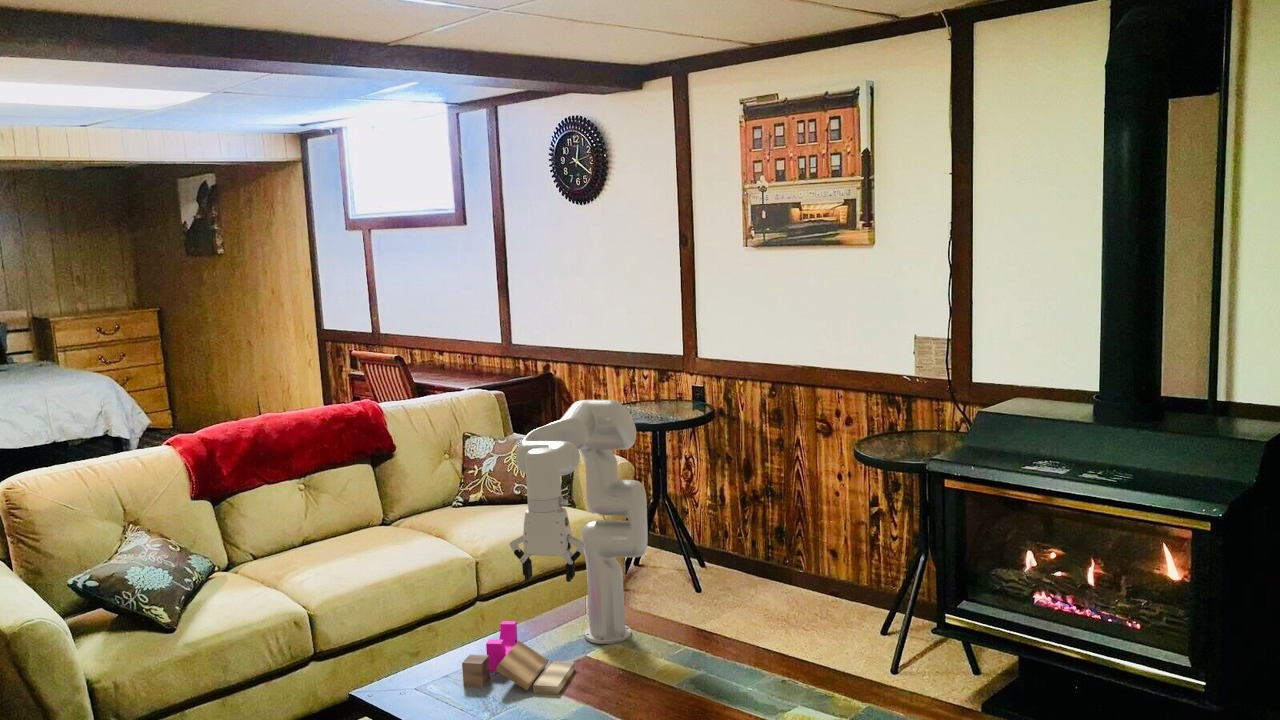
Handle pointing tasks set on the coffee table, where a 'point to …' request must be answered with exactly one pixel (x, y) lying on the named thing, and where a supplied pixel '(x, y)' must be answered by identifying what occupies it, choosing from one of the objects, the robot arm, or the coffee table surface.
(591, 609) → the robot arm
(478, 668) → the walnut block
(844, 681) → the coffee table surface
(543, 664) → the plank
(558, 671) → the laid board
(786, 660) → the coffee table surface
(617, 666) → the coffee table surface
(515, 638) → the toy block
